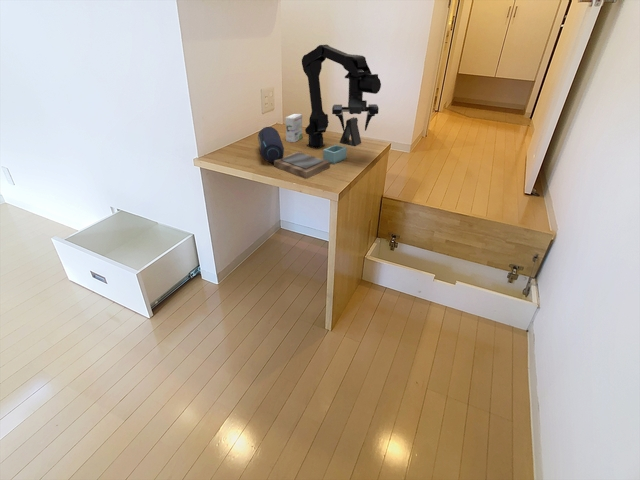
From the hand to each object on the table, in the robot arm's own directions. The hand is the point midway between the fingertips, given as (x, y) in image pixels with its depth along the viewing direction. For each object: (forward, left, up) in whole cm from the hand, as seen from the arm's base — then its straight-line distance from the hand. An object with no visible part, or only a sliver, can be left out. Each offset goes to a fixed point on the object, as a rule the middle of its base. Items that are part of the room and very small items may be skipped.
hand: (354, 130), depth 151 cm
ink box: (-38, +2, -13) cm, 40 cm away
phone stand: (-14, +17, -13) cm, 26 cm away
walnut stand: (-11, -22, -13) cm, 27 cm away
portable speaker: (-29, -21, -13) cm, 38 cm away
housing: (-6, -6, -13) cm, 15 cm away
